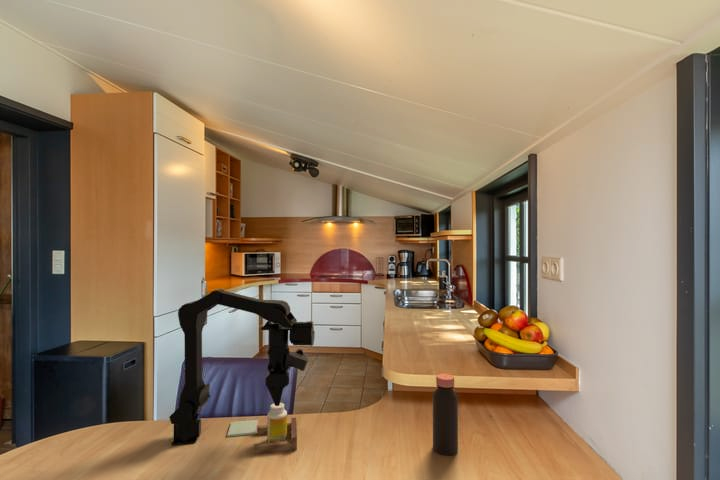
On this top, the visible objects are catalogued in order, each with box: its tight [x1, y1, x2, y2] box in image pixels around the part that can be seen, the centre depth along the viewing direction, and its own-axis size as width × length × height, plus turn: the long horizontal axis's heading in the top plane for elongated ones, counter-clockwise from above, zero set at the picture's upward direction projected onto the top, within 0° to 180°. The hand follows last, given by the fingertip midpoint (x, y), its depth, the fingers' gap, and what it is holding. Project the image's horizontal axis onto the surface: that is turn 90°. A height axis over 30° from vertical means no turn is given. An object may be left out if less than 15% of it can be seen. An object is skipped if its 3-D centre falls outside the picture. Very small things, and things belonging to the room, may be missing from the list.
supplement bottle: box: [266, 402, 288, 443], centre depth 107 cm, size 6×6×10 cm
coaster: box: [226, 419, 259, 438], centre depth 113 cm, size 8×8×1 cm
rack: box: [253, 417, 298, 455], centre depth 107 cm, size 12×12×4 cm
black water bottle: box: [432, 373, 459, 456], centre depth 103 cm, size 7×7×20 cm
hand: (277, 398), depth 107 cm, fingers open, 9 cm apart
